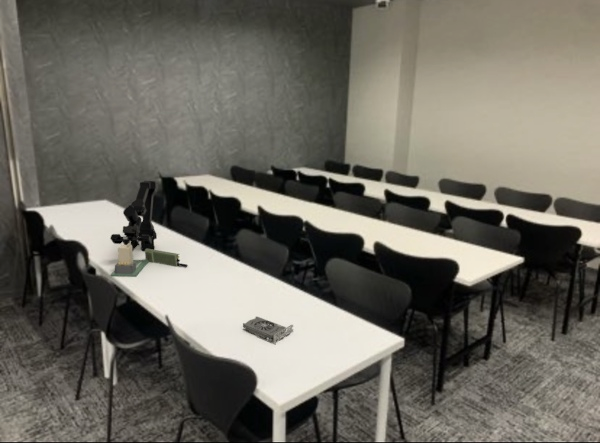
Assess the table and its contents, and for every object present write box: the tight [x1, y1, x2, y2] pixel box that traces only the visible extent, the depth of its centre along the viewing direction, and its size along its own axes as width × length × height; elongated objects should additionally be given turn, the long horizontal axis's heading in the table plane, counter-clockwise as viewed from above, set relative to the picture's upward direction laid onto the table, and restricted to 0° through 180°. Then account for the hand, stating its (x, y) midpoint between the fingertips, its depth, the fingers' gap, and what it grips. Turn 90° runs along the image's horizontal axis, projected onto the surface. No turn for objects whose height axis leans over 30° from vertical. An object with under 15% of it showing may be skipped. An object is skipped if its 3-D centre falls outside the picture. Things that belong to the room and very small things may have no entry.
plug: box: [117, 242, 134, 265], centre depth 220 cm, size 5×5×13 cm
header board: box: [110, 259, 149, 278], centre depth 226 cm, size 20×12×6 cm, turn 1°
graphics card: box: [242, 316, 294, 346], centre depth 171 cm, size 17×4×12 cm
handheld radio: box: [144, 249, 188, 268], centre depth 234 cm, size 7×3×25 cm
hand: (128, 254), depth 223 cm, fingers closed
